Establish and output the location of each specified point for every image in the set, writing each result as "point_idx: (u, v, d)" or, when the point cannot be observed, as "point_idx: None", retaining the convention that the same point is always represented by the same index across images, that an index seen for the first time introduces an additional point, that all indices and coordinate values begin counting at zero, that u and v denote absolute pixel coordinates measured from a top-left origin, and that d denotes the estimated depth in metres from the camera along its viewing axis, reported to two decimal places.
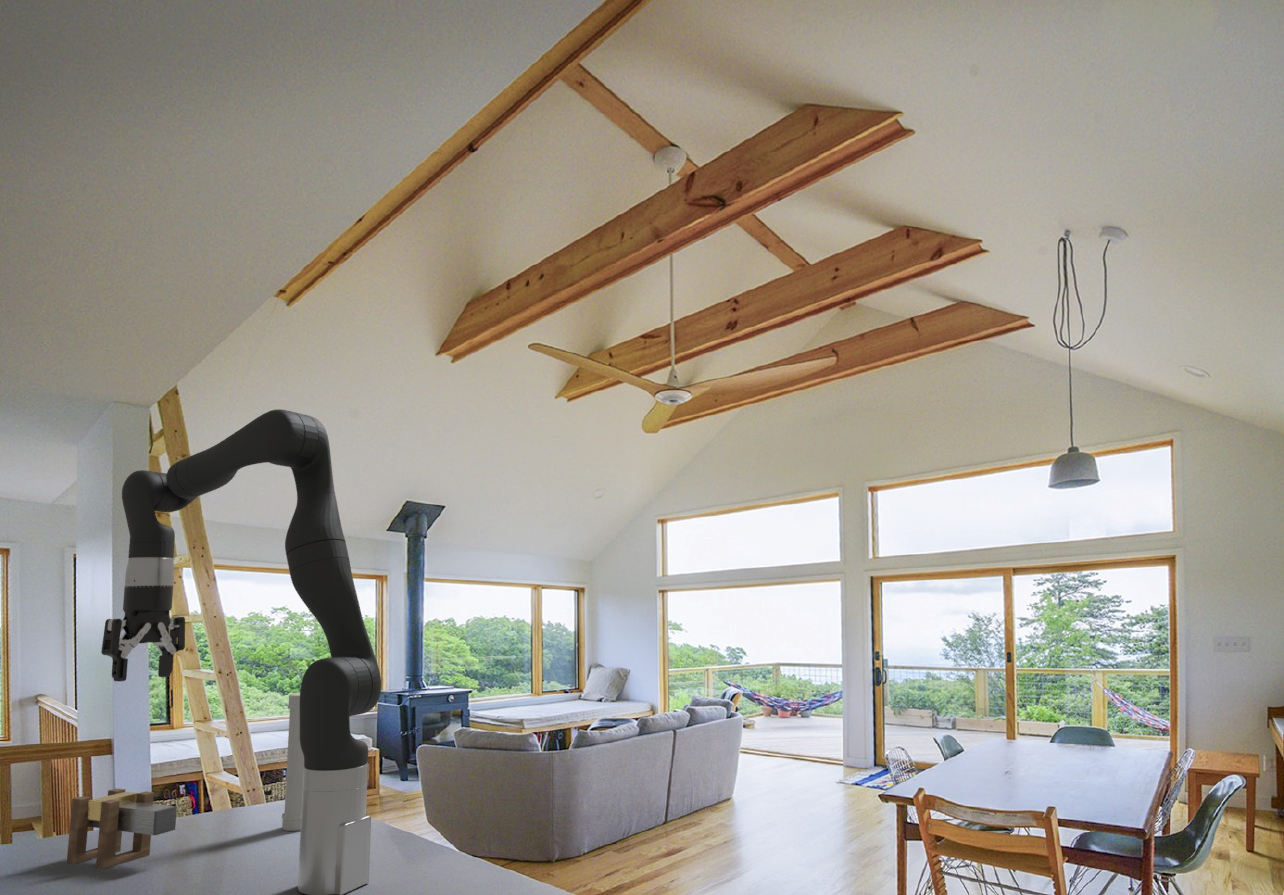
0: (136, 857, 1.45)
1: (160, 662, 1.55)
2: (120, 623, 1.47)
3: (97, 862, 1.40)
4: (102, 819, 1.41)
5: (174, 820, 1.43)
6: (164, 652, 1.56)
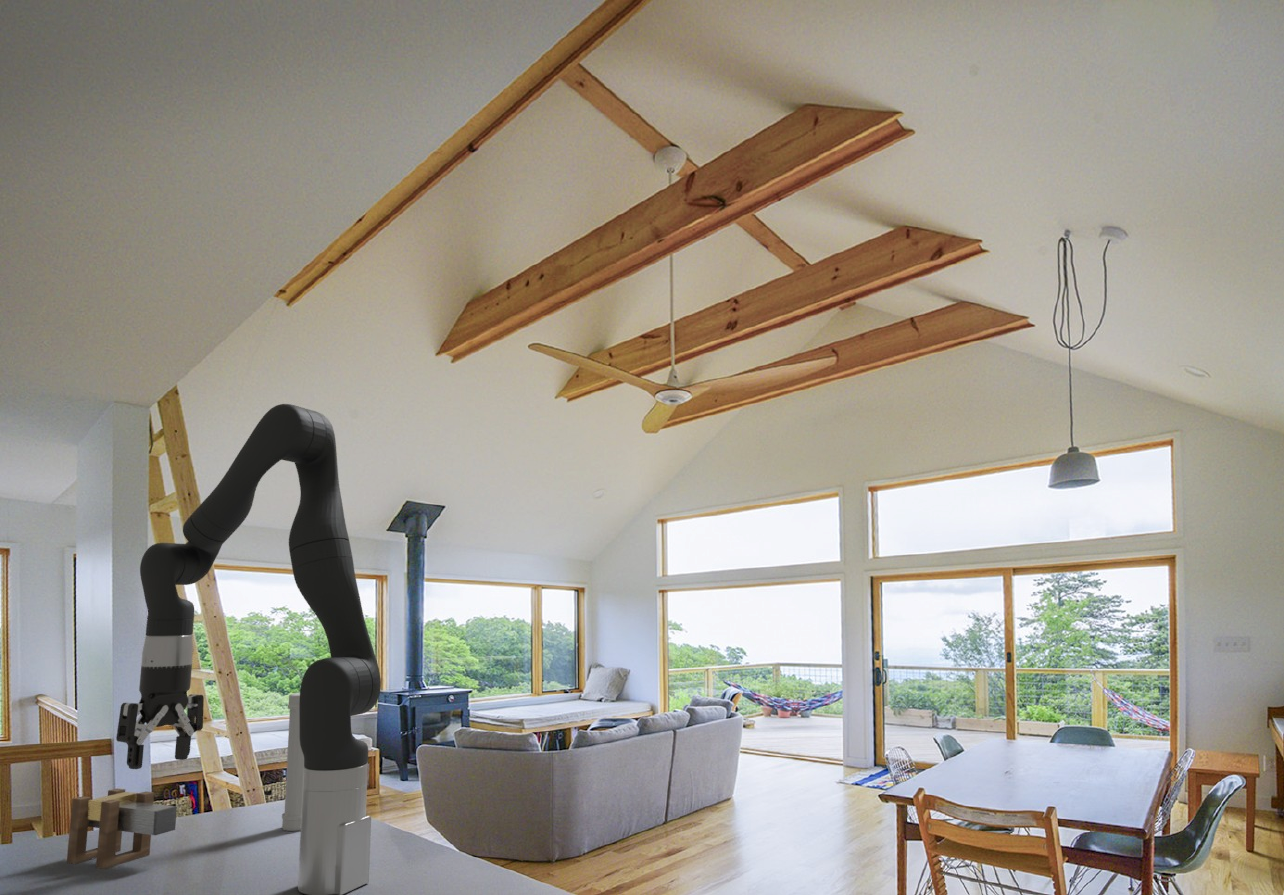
0: (136, 857, 1.45)
1: (177, 744, 1.48)
2: (136, 708, 1.39)
3: (97, 862, 1.40)
4: (102, 819, 1.41)
5: (174, 820, 1.43)
6: (181, 733, 1.48)
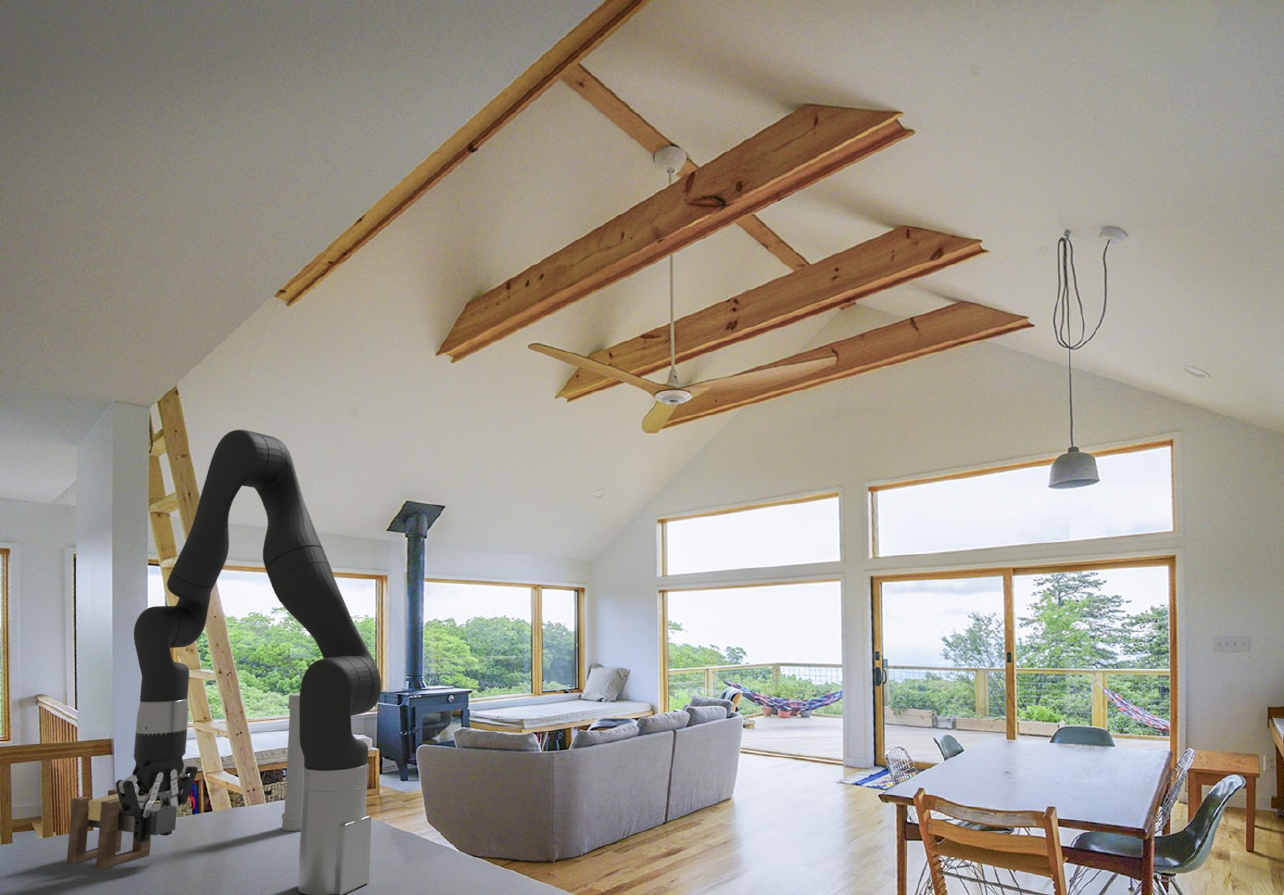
0: (136, 857, 1.45)
1: None
2: (132, 784, 1.38)
3: (97, 862, 1.40)
4: (102, 819, 1.41)
5: (174, 820, 1.43)
6: None
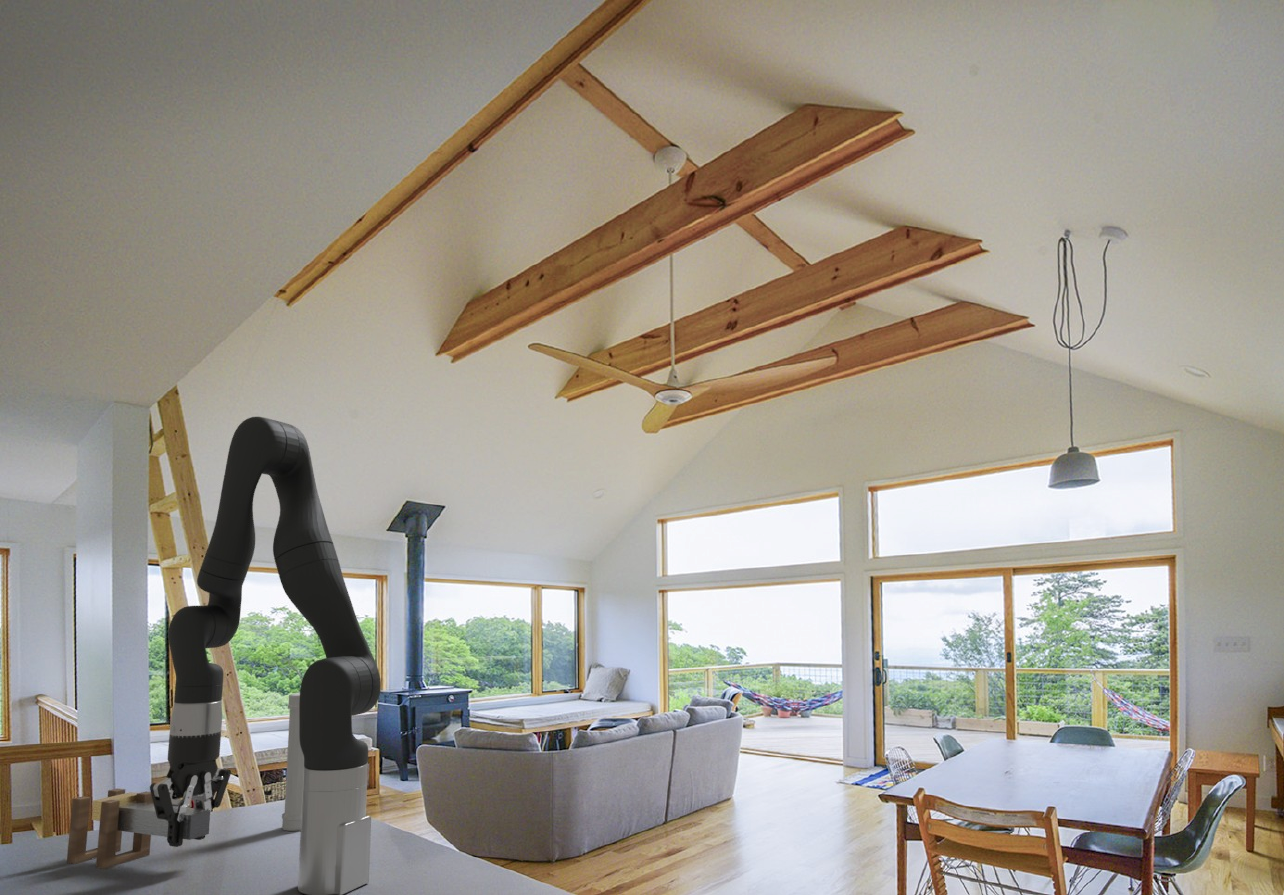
0: (136, 857, 1.45)
1: None
2: (166, 788, 1.35)
3: (97, 862, 1.40)
4: (102, 819, 1.41)
5: (208, 824, 1.40)
6: None
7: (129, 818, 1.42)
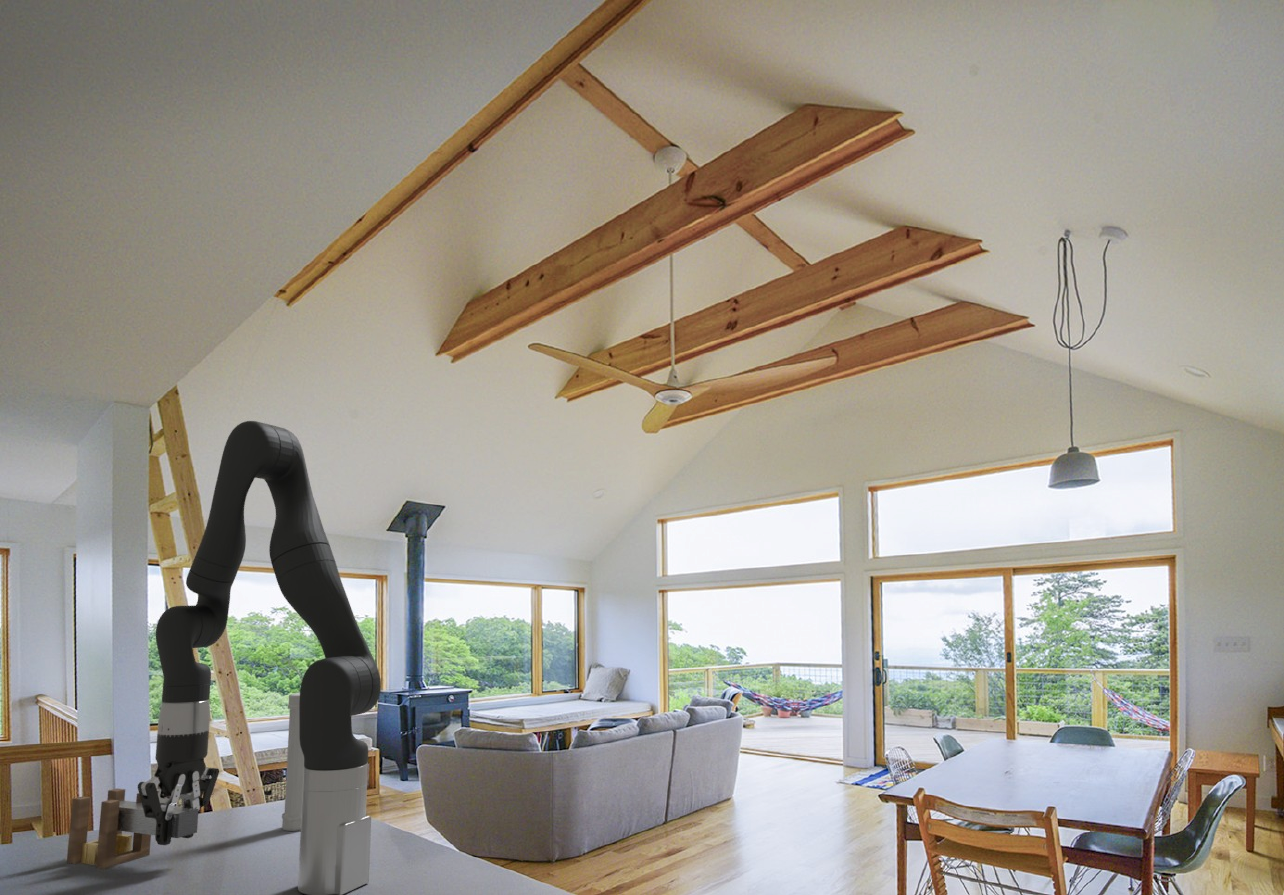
0: (136, 857, 1.45)
1: None
2: (154, 786, 1.36)
3: (97, 862, 1.40)
4: (102, 819, 1.41)
5: (196, 823, 1.41)
6: None
7: (118, 817, 1.43)
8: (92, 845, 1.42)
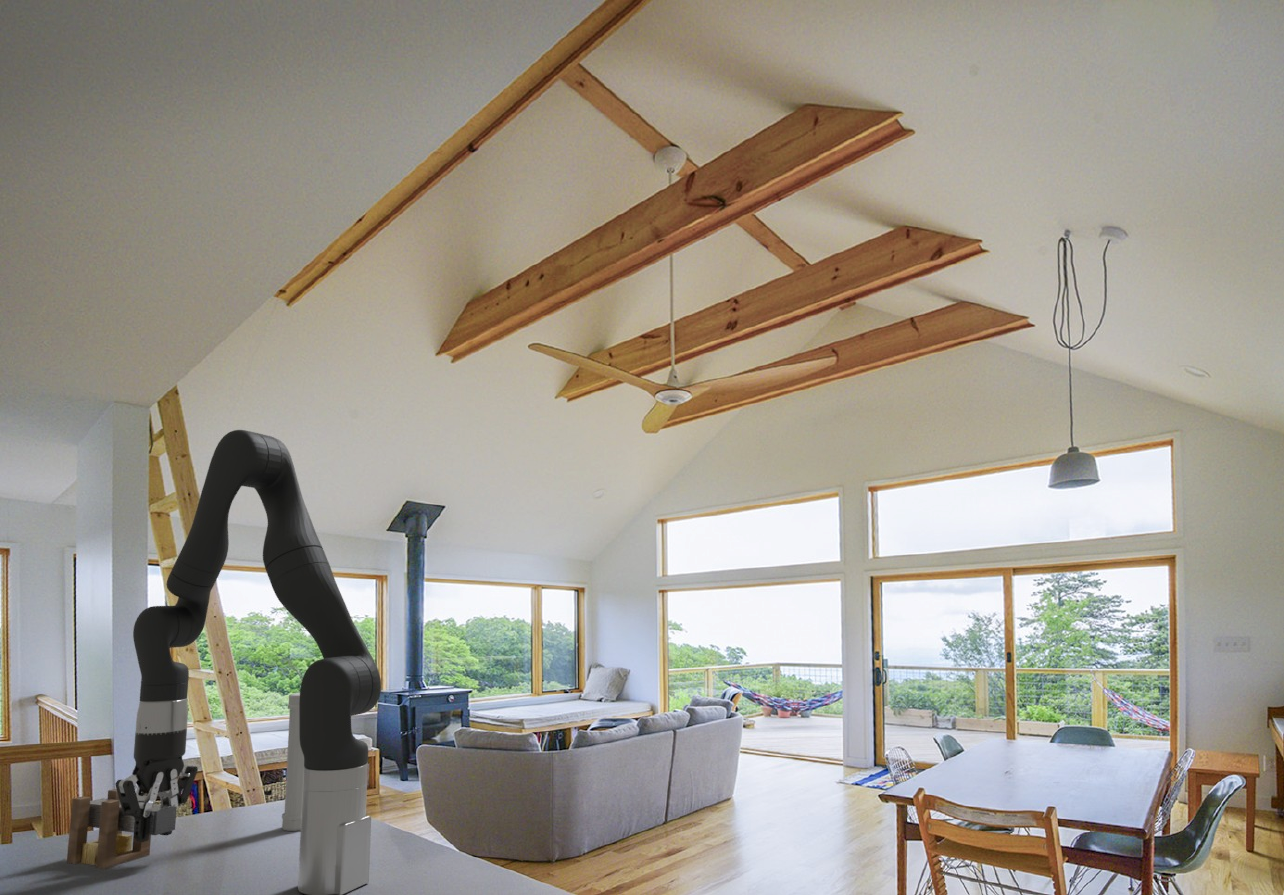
0: (136, 857, 1.45)
1: None
2: (132, 784, 1.38)
3: (97, 862, 1.40)
4: (102, 819, 1.41)
5: (174, 820, 1.43)
6: None
7: (98, 814, 1.45)
8: (92, 845, 1.42)
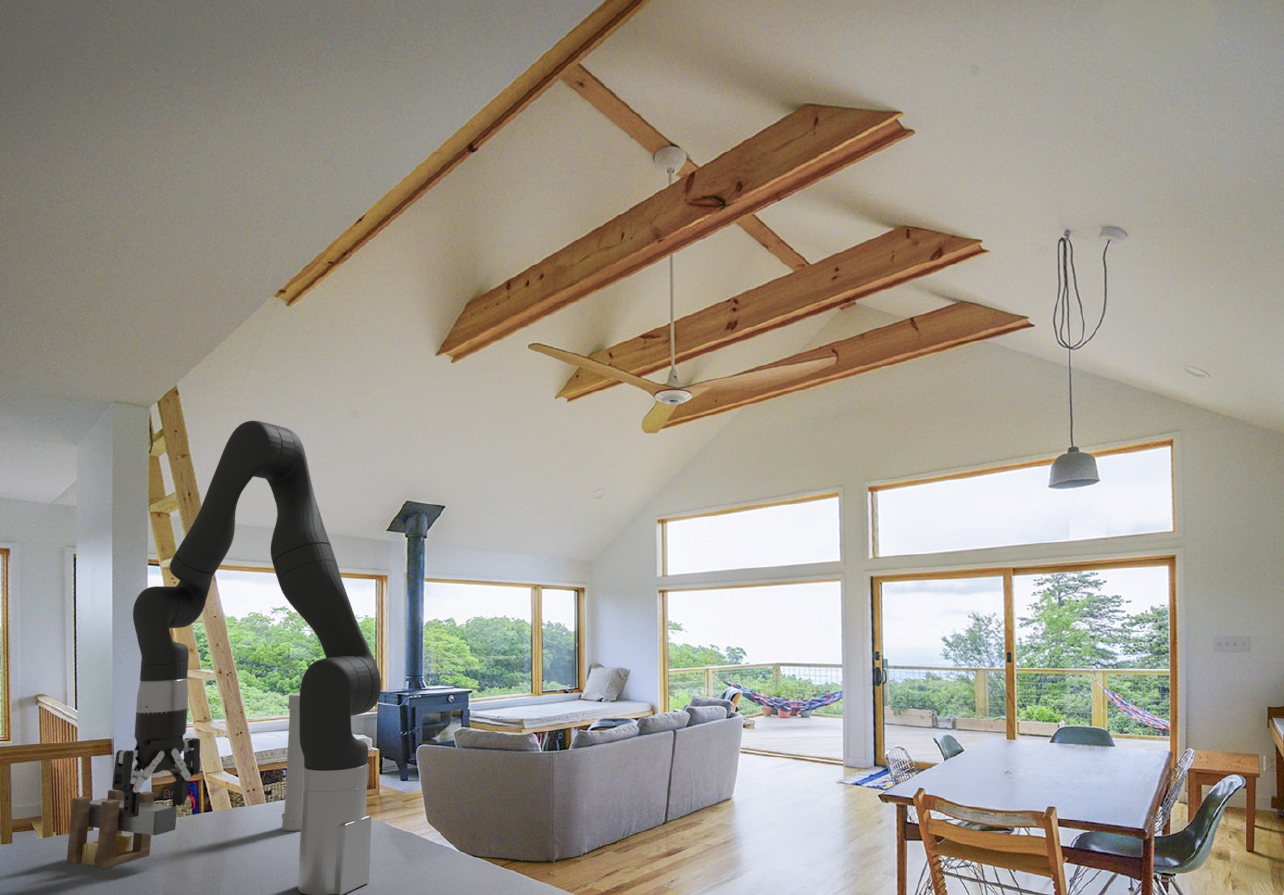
0: (136, 857, 1.45)
1: (174, 789, 1.47)
2: (132, 755, 1.38)
3: (97, 862, 1.40)
4: (102, 819, 1.41)
5: (174, 820, 1.43)
6: (178, 778, 1.47)
7: (98, 814, 1.45)
8: (92, 845, 1.42)
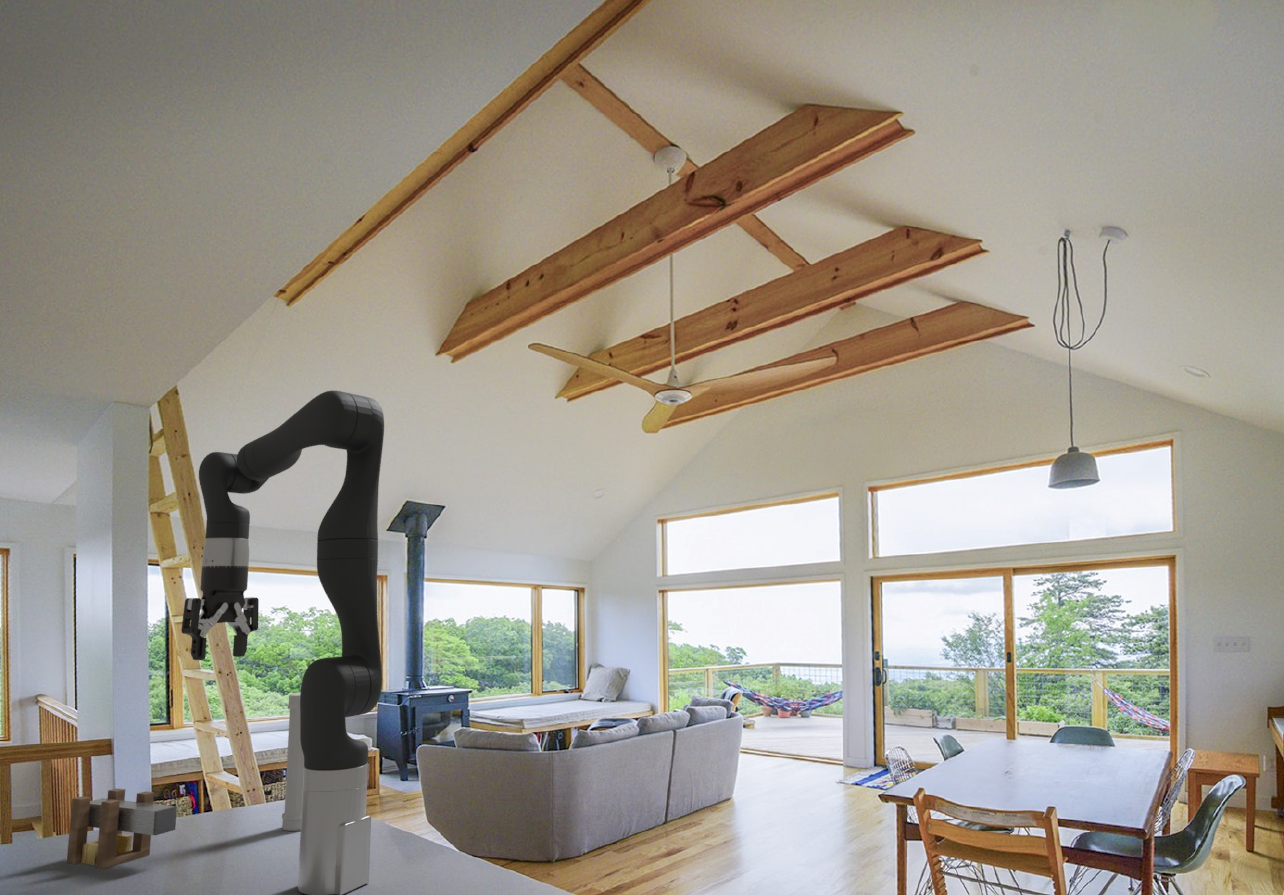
0: (136, 857, 1.45)
1: (235, 642, 1.57)
2: (199, 602, 1.48)
3: (97, 862, 1.40)
4: (102, 819, 1.41)
5: (174, 820, 1.43)
6: (239, 632, 1.57)
7: (98, 814, 1.45)
8: (92, 845, 1.42)
